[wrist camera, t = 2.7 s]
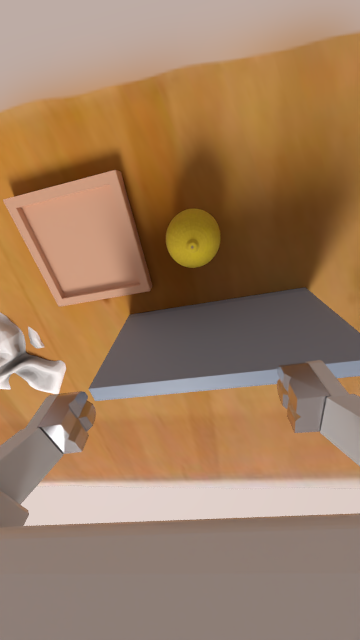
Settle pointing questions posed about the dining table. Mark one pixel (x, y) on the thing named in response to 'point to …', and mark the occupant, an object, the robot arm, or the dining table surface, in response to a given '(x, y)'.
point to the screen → (225, 345)
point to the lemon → (193, 238)
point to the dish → (83, 238)
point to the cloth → (26, 360)
